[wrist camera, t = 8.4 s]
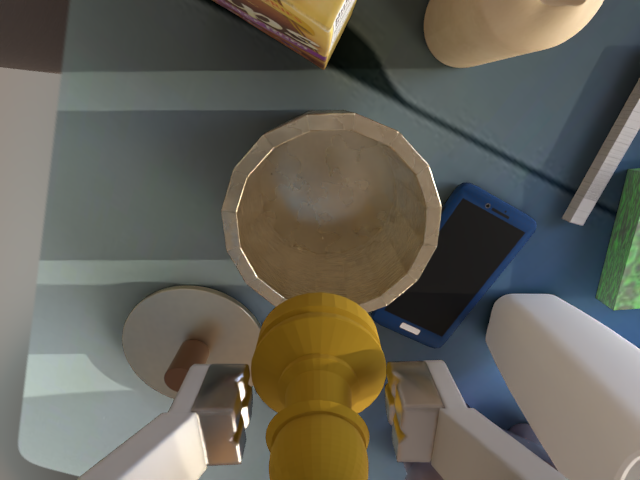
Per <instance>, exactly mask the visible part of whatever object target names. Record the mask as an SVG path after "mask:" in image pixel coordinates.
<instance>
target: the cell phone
mask: <svg viewBox="0 0 640 480" xmlns="http://www.w3.org/2000/svg"><path fill="white" fill-rule="evenodd" d="M536 225H537V224H536V222H535V220H534V219H532V218H531V217H530V216H529V215H527V214H525V213H524V212H522V211H520V210H518V209H517V208H515V207H513V206H511V205H510V204H508V203H506V202H504V201H502V200H501V199H499V198H497V197H495V196H494V195H492V194H490V193H488V192H487V191H485V190H483V189H481V188H480V187H478V186H476V185H473V184H471V183H462V184H461V185H459V186H458V187H457V188H456V189H455V190H454V192H453V193H452V194H451V196H450V197H449V199H448V200H447V202H446V203H445V205H444V206H443V207H442V211H441V219H440V227H439V236H438V244H437V248H436V249H435V251H434V253H433V255H432V256H431V258H430V260H429V262H428V263H427V265H426V267H425V269H424V271H423V272H422V274H421V276H420V278H419V279H418V280H417V282H416V283H414V284H413V285H412V286H411V287H409V288H408V289H407V290H406V291H405V292H403V293H402V294H401V295H400V296H399V297H397V298H396V299H395V300H394V301H393V302H391V303H390V304H389V305H387V306H385V307H382V308H380V309H377V310H374V311H372V319H373V320H374V321H375V322H377V323H378V324H380V325H382V326H384V327H386V328H388V329H391V330H393V331H395V332H397V333H400V334H402V335H404V336H406V337H409V338H411V339H413V340H415V341H417V342H420V343H422V344H424V345H426V346H429V347H432V348H439V347H441V346H442V345H443V344H444V343H445V342H446V341H447V340H448V338H449V337H450V336H451V335H452V333H453V332H454V331H455V330H456V328H457V327H458V326H459V325H460V324H461V322H462V321H463V320H464V319H465V317H466V316H467V315H468V314H469V312H470V311H471V310H472V309H473V308H474V306H475V305H476V304H477V303H478V301H479V300H480V299H481V298H482V296H483V295H484V294H485V293H486V292H487V290H488V289H489V288H490V287H491V285H492V284H493V283H494V282H495V280H496V279H497V278H498V277H499V276H500V274H501V273H502V272H503V271H504V269H505V268H506V267H507V266H508V264H509V263H510V262H511V261H512V260H513V258H514V257H515V256H516V255H517V253H518V252H519V251H520V250H521V248H522V247H523V246H524V245H525V244H526V242H527V241H528V240H529V238H530V237H531V236H532V234H533V233H534V232H535V230H536Z"/></svg>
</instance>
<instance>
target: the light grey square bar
mask: <svg viewBox="0 0 640 480" xmlns="http://www.w3.org/2000/svg"><path fill="white" fill-rule="evenodd" d="M639 128H640V78H639V80H638V82H637V83H636V85H635V87H634V89H633V91H632V92H631V94H630V96H629V98H628V100H627V101H626V103H625V105H624V107H623V109H622V110H621V112H620V114H619V116H618V118H617V120H616V121H615V123H614V125H613V127H612V129H611V130H610V132H609V134H608V136H607V138H606V139H605V141H604V143H603V145H602V147H601V148H600V150H599V152H598V154H597V156H596V157H595V159H594V161H593V163H592V165H591V166H590V168H589V170H588V172H587V174H586V175H585V177H584V179H583V181H582V183H581V184H580V186H579V188H578V190H577V192H576V194H575V195H574V197H573V199H572V201H571V203H570V204H569V206H568V208H567V210H566V212H565V213H564V215H563V217H562V219H564V220H566V221H568V222H570V223H574V224H578V225H582V226H583V225H584V223H585V221H586V219H587V218H588V216H589V214H590V213H591V211H592V209H593V207H594V206H595V204H596V202H597V201H598V199H599V197H600V195H601V194H602V192H603V190H604V188H605V187H606V185H607V183H608V182H609V180H610V178H611V176H612V175H613V173H614V171H615V170H616V168H617V166H618V164H619V163H620V161H621V159H622V158H623V156H624V154H625V152H626V151H627V149H628V147H629V146H630V144H631V142H632V140H633V139H634V137H635V135H636V134H637V132H638V130H639Z"/></svg>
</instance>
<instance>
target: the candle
mask: <svg viewBox="0 0 640 480" xmlns="http://www.w3.org/2000/svg"><path fill="white" fill-rule="evenodd" d="M603 1H604V0H430V1H429V3H428V6H427V9H426V12H425V17H424V35H425V40H426V43H427V46H428V48H429V50H430V51H431V53H432V54H433V55H434V57H435V58H436V59H438V60H439V61H440V62H442V63H443V64H445V65H448V66H451V67H455V68H467V67H472V66H477V65H481V64H485V63H489V62H493V61H498V60H502V59H506V58H510V57H515V56H519V55H523V54H527V53H531V52H536V51H540V50H544V49H548V48H551V47H554V46H557V45H559V44H561V43H563V42H565V41H566V40H568V39H569V38H571V37H572V36H574V35H575V34H576V33H578V32H579V31H580V30H581V29H582V28H583V27H584V26H585V25H586V24H587V23H588V22H589V21H590V20H591V19H592V17H593V16H594V15H595V14H596V12H597V11H598V9H599V8H600V6H601V5H602V3H603Z"/></svg>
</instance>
